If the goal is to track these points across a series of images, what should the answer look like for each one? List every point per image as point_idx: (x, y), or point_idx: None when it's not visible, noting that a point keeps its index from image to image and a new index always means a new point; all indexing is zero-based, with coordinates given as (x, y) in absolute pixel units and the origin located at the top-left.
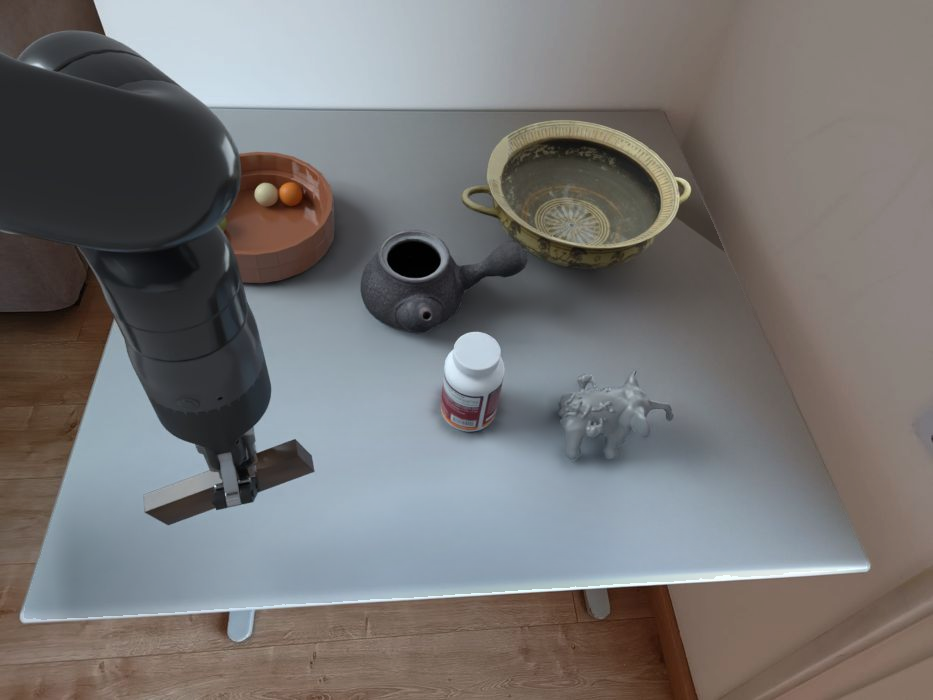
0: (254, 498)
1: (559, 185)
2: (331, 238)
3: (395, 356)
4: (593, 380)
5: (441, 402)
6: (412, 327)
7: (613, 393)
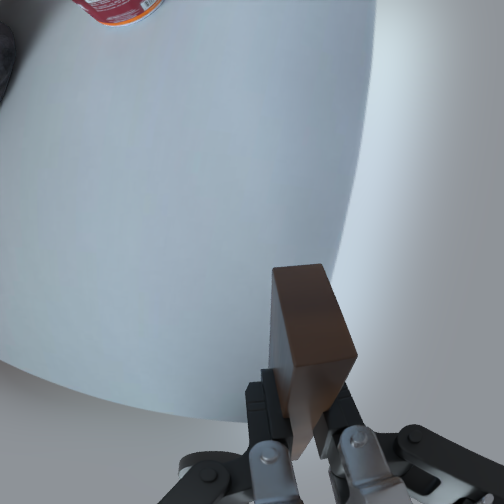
0: (495, 463)
1: None
2: None
3: (35, 91)
4: None
5: (115, 19)
6: (4, 67)
7: None
